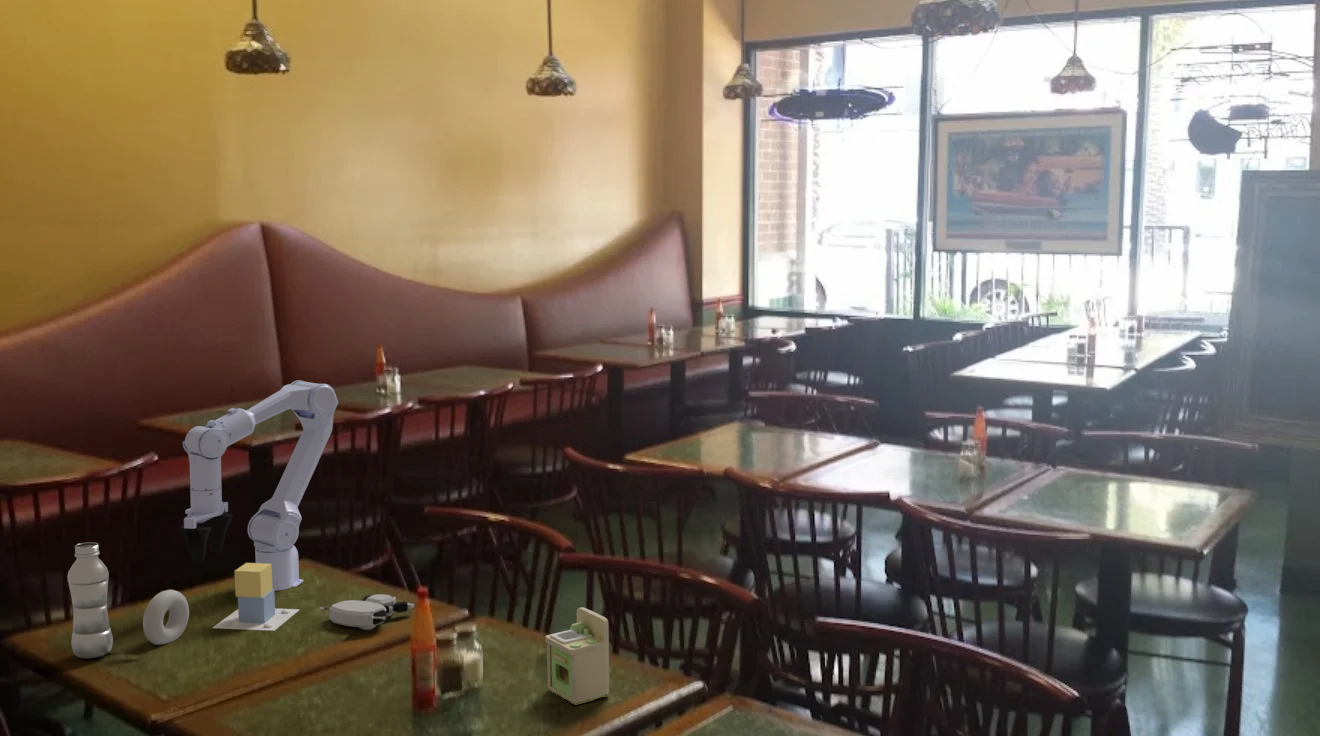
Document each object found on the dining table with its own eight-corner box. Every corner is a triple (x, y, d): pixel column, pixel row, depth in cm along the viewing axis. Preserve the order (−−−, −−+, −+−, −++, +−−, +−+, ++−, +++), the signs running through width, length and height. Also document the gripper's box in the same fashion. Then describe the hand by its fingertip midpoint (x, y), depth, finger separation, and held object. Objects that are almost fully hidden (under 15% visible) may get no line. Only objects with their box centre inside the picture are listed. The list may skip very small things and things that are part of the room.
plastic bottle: (97, 664, 204) (91, 551, 202) (63, 661, 206) (56, 548, 203) (121, 651, 210) (116, 541, 208) (88, 648, 212) (82, 539, 209)
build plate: (240, 611, 232) (240, 605, 232) (300, 613, 231) (299, 607, 231) (212, 632, 221) (212, 626, 220) (274, 634, 219) (274, 628, 219)
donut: (155, 655, 209) (152, 600, 208) (139, 652, 210) (136, 597, 209) (194, 636, 218) (192, 583, 217) (179, 634, 219) (176, 581, 218)
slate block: (250, 613, 228) (248, 588, 228) (275, 614, 228) (274, 589, 227) (238, 622, 224) (237, 596, 223) (264, 623, 223) (263, 597, 222)
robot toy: (367, 610, 236) (316, 628, 223) (367, 588, 236) (317, 604, 222) (418, 619, 231) (369, 638, 218) (419, 596, 231) (370, 613, 217)
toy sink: (543, 691, 194) (543, 613, 193) (580, 680, 199) (580, 605, 197) (571, 708, 188) (571, 628, 186) (610, 697, 192) (610, 619, 190)
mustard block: (247, 587, 228) (246, 562, 227) (272, 589, 227) (271, 563, 227) (235, 596, 223) (234, 570, 222) (261, 597, 222) (260, 571, 222)
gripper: (203, 479, 239) (205, 545, 241) (167, 495, 225) (169, 565, 226) (237, 481, 239) (238, 547, 240) (203, 496, 224) (205, 566, 226)
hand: (207, 556), depth 233 cm, fingers open, 7 cm apart
